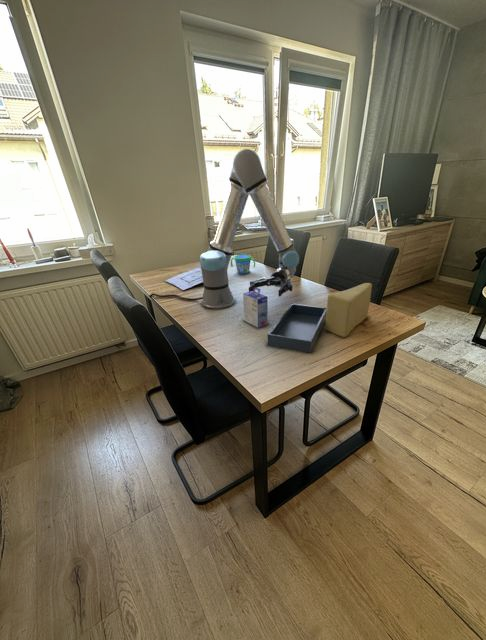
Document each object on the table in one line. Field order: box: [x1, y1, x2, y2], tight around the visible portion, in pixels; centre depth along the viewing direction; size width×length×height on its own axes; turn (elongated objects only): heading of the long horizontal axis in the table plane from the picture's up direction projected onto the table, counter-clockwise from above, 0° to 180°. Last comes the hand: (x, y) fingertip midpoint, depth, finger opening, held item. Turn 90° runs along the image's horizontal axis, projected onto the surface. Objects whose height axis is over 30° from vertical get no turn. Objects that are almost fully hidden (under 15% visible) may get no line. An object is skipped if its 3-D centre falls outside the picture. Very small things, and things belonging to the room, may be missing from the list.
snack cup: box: [230, 254, 256, 275], centre depth 175 cm, size 16×10×10 cm
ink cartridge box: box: [242, 287, 269, 329], centre depth 112 cm, size 10×6×14 cm, turn 39°
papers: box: [165, 266, 203, 291], centre depth 167 cm, size 24×30×4 cm
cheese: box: [324, 282, 373, 338], centre depth 107 cm, size 22×10×15 cm, turn 131°
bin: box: [266, 303, 327, 354], centre depth 108 cm, size 16×30×4 cm, turn 158°
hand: (264, 292), depth 118 cm, fingers open, 13 cm apart
